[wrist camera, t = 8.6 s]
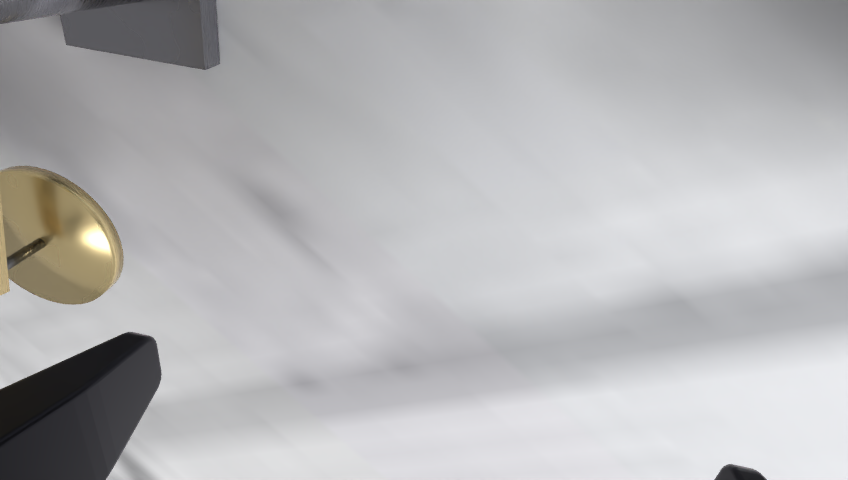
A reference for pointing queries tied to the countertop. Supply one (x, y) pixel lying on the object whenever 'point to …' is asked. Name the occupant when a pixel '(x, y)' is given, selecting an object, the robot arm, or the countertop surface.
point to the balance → (57, 196)
